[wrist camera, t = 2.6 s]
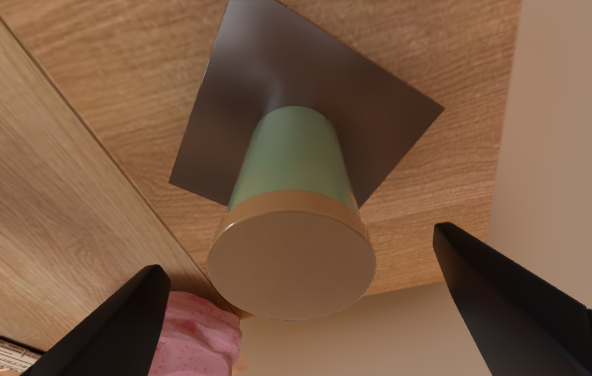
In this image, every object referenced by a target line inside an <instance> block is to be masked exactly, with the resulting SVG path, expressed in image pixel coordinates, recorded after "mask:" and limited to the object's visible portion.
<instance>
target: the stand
mask: <svg viewBox="0 0 592 376" xmlns="http://www.w3.org/2000/svg"><path fill="white" fill-rule="evenodd" d="M286 106H302V107H307V108H310V109H313V110H315V111H317V112H319V113H320V114H322V115H323V116H324V117H326V118H327V119H328V120H329V121H330V123H331V124H332V125H333V127H334V129H335V131H336V133H337V136H338V139H339V143H340V146H341V150H342V153H343V157H344V160H345V164H346V167H347V171H348V174H349V178H350V181H351V185H352V188H353V192H354V195H355V199H356V202H357V206H358V209H360V207H361V206H362V205H363V204H364V203H365V202H366V200H367V199H368V198H369V197H370V196H371V195H372V193H373V192H374V191H375V190H376V189H377V187H378V186H379V185H380V184H381V183H382V182H383V180H384V179H385V178H386V177H387V176H388V175H389V173H390V172H391V171H392V170H393V169H394V168H395V166H396V165H397V164H398V163H399V162H400V161H401V159H402V158H403V157H404V156H405V155H406V154H407V152H408V151H409V150H410V149H411V148H412V147H413V145H414V144H415V143H416V142H417V141H418V140H419V138H420V137H421V136H422V135H423V134H424V133H425V131H426V130H427V129H428V128H429V127H430V126H431V124H432V123H433V122H434V121H435V120H436V119H437V117H438V116H439V115H440V114H441V113H442V112H443V110H444V109H445V108H444V107H443V106H442V105H440V104H439V103H437V102H436V101H435V100H433V99H432V98H430V97H429V96H427V95H426V94H424V93H422V92H421V91H419V90H418V89H416V88H415V87H413V86H411V85H410V84H408V83H407V82H405V81H404V80H402V79H400V78H399V77H397V76H396V75H394V74H393V73H391V72H389V71H388V70H386V69H385V68H383V67H382V66H380V65H378V64H377V63H375V62H374V61H372V60H371V59H369V58H368V57H366V56H364V55H363V54H361V53H360V52H358V51H357V50H355V49H353V48H352V47H350V46H349V45H347V44H346V43H344V42H342V41H341V40H339V39H338V38H336V37H335V36H333V35H331V34H330V33H328V32H327V31H325V30H324V29H322V28H320V27H319V26H317V25H316V24H314V23H313V22H311V21H310V20H308V19H306V18H305V17H303V16H302V15H300V14H299V13H297V12H295V11H294V10H292V9H291V8H289V7H288V6H286V5H284V4H283V3H281V2H280V1H278V0H228V3H227V6H226V9H225V12H224V15H223V18H222V21H221V24H220V27H219V30H218V33H217V36H216V40H215V43H214V46H213V49H212V52H211V55H210V58H209V61H208V64H207V67H206V70H205V73H204V76H203V79H202V82H201V85H200V88H199V91H198V94H197V97H196V100H195V103H194V106H193V109H192V112H191V115H190V118H189V122H188V125H187V128H186V131H185V134H184V137H183V140H182V143H181V146H180V149H179V152H178V155H177V158H176V161H175V164H174V167H173V170H172V173H171V176H170V179H169V183H170V184H172V185H175V186H177V187H180V188H182V189H185V190H187V191H190V192H192V193H195V194H197V195H200V196H202V197H205V198H207V199H210V200H212V201H215V202H217V203H220V204H222V205H225V206H228V203H229V200H230V197H231V194H232V191H233V188H234V186H235V183H236V180H237V177H238V174H239V171H240V168H241V165H242V162H243V159H244V156H245V153H246V150H247V148H248V145H249V142H250V139H251V136H252V133H253V131H254V129H255V127H256V125H257V124H258V123H259V121H260V120H261V119H262V118H263V117H264V116H266V115H267V114H268V113H270V112H272V111H274V110H276V109H279V108H282V107H286Z"/></svg>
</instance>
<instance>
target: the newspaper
mask: <svg viewBox="0 0 592 376" xmlns="http://www.w3.org/2000/svg"><path fill="white" fill-rule="evenodd" d="M42 356H43V354H40V353H37V352H34V351H32V350H29V349H26V348H23V347H20V346H18V345H15V344H12V343H9V342H6V341H3V340H1V339H0V366H2V367H5V368H8V369H11V370H14V371H17V372H20V373H23V372H24V371H25V370H26V369H28V368H29V367H30V366H31V365H34V363H35V362H36V361H37V360H38V359H39V358H40V357H42Z"/></svg>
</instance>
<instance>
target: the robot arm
mask: <svg viewBox="0 0 592 376" xmlns="http://www.w3.org/2000/svg"><path fill="white" fill-rule="evenodd" d="M433 248H434V251H435V254H436V257H437V259H438V262H439V265H440V267H441V270H442V272H443V275H444V278H445V280H446V283H447V286H448V288H449V291H450V293H451V296H452V298H453V300H454V302H455V304H456V306H457V308H458V310H459V312H460V314H461V316H462V318H463V320H464V322H465V324H466V325H467V327H468V329H469V331H470V333H471V335H472V337H473V339H474V341H475V343H476V345H477V347H478V349H479V351H480V353H481V355H482V357H483V359H484V360H485V362H486V364H487V366H488V368H489V370H490V372H491V374H492V376H592V310H591V309H587V308H586V306H585V305H583V304H582V303H580V302H578V301H577V300H575V299H574V298H572V297H570V296H569V295H567V294H565V293H564V292H562V291H561V290H559V289H557V288H556V287H554V286H553V285H551V284H549V283H548V282H546V281H545V280H543V279H541V278H540V277H538V276H537V275H535V274H533V273H532V272H530V271H528V270H527V269H525V268H524V267H522V266H520V265H519V264H517V263H515V262H514V261H512V260H511V259H509V258H507V257H506V256H504V255H503V254H501V253H500V252H498V251H496V250H495V249H493V248H492V247H490V246H488V245H487V244H485V243H483V242H482V241H480V240H479V239H477V238H475V237H474V236H472V235H471V234H469V233H467V232H466V231H464V230H463V229H461V228H459V227H458V226H456V225H455V224H453V223H451V222H443V223H437V224H435V226H434V234H433ZM170 288H171V280H170V278H169V277H168V275H167V274H166V273H165V271H164V270H163V268H162V267H161V266H160V265H158V264H154V265H148V266H145V267H144V268H143V269H142V270H140V271H139V272H138V273H137V274H136V275H135V276H134V277H132V278H131V279H130V280H129V281H128V282H127V283H125V284H124V285H123V286H122V287H121V288H120V289H119V290H117V291H116V292H115V293H114V294H113V295H112V296H111V297H109V298H108V299H107V300H106V301H105V302H104V303H102V304H101V305H100V306H99V307H98V308H97V309H96V310H94V311H93V312H92V313H91V314H90V315H89V316H88V317H86V318H85V319H84V320H83V321H82V322H81V323H79V324H78V325H77V326H76V327H75V328H74V329H73V330H71V331H70V332H69V333H68V334H67V335H66V336H65V337H63V338H62V339H61V340H60V341H59V342H58V343H56V344H55V345H54V346H53V347H52V348H51V349H50V350H48V351H47V352H46V353H45V354H44V355H43V356H42V357H40V358H39V359H38V360H37V361H36V362H35V363H34V365H31V366H30V367H29V368H28V369H26V370H25V371H24V372H23V373H22V374H21V375H20V376H148V374H149V371H150V368H151V364H152V361H153V358H154V354H155V351H156V348H157V345H158V341H159V338H160V335H161V331H162V327H163V322H164V318H165V313H166V308H167V303H168V298H169V293H170Z"/></svg>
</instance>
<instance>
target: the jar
mask: <svg viewBox="0 0 592 376" xmlns="http://www.w3.org/2000/svg"><path fill="white" fill-rule="evenodd" d="M207 270H208V275H209V278H210V280H211V282H212V284H213V286H214V287H215V289H216V290H217V291H218V292H219V293H220V295H221V296H223V297H224V298H225V299H226V300H227V301H228V302H230V303H231V304H233V305H234V306H236V307H238V308H240V309H241V310H244V311H246V312H248V313H251V314H254V315H257V316H260V317H264V318H269V319H275V320H284V321H301V320H311V319H317V318H321V317H325V316H329V315H332V314H335V313H337V312H340V311H342V310H343V309H346V308H348V307H349V306H351V305H352V304H354V303H355V302H356V301H358V300H359V299H360V298H361V297H362V296H363V295H364V294H365V293H366V292H367V290H368V289H369V288H370V286H371V284H372V282H373V280H374V276H375V273H376V257H375V253H374V250H373V247H372V243H371V240H370V237H369V233H368V230H367V228H366V227H365V225H364V223H363V222H362V220H361V216H360V213H359V209H358V206H357V202H356V199H355V195H354V192H353V188H352V185H351V181H350V178H349V174H348V171H347V167H346V164H345V160H344V157H343V153H342V150H341V146H340V143H339V139H338V136H337V133H336V131H335V129H334V127H333V125H332V124H331V123H330V121H329V120H328V119H327V118H326V117H324V116H323V115H322V114H320V113H319V112H317V111H315V110H313V109H310V108H307V107H302V106H286V107H282V108H279V109H276V110H274V111H272V112H270V113H268V114H267V115H266V116H264V117H263V118H262V119H261V120H260V121H259V123H258V124H257V125H256V127H255V129H254V131H253V133H252V136H251V139H250V142H249V145H248V148H247V150H246V153H245V156H244V159H243V162H242V165H241V168H240V171H239V174H238V177H237V180H236V183H235V186H234V188H233V191H232V194H231V197H230V200H229V203H228V206H227V209H226V212H225V215H224V217H223V219H222V220H221V222H220V223H219V225H218V227H217V229H216V232H215V234H214V237H213V240H212V243H211V245H210V248H209V251H208V255H207Z"/></svg>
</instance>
